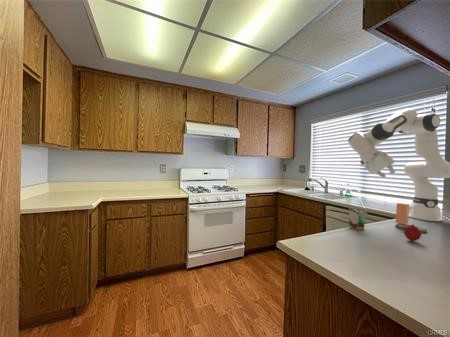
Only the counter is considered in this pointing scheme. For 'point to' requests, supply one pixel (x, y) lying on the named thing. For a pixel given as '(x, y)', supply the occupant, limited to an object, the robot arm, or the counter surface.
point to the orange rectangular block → (402, 213)
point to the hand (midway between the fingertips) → (388, 175)
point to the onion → (412, 233)
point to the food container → (357, 218)
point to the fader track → (422, 230)
